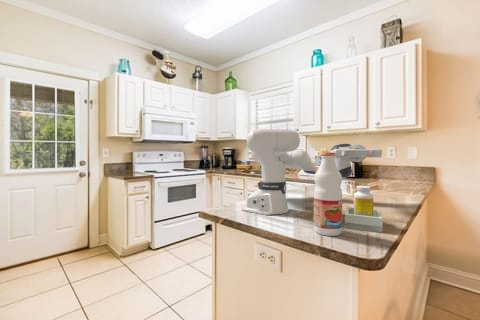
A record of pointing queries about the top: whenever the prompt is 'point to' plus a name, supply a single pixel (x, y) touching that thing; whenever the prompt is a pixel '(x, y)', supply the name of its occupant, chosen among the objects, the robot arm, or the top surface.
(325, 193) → the fruit juice
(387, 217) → the top surface
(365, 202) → the supplement bottle
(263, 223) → the top surface
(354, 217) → the sage tray
